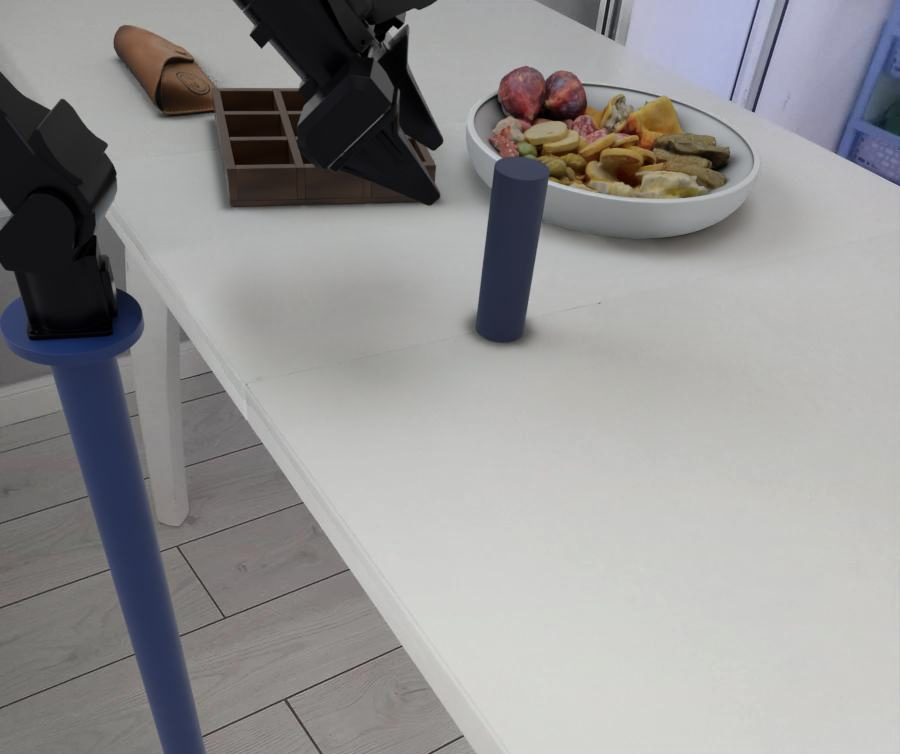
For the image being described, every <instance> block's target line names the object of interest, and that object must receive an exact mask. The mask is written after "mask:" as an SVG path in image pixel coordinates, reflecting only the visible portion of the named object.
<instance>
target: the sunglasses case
mask: <svg viewBox="0 0 900 754" xmlns="http://www.w3.org/2000/svg"><path fill="white" fill-rule="evenodd" d="M112 43H113V49H114V52H115V53H116V55H117V57H118V58H119V60H121V61H122V63H124V65H125V66H126V67H127V68H128V70H129V71H130V73H131V74H132V76H133V77H134V78H135V79H136V81H137V82H138V83H139V85H140V86H141V87H142V89H143V90H144V92H145V93H146V95H147V97H148V99H149V100H150V101H151V102H152V104H153V105H154V106H156V107H157V108H158V109H159V110H160V111H161V113H162V114H164V115H166V116H175V115H176V116H185V115H186V116H187V115H197V114H204V113H208V112H214V107H213V97H212V88H217V86H216V84H215V83H214V82H213V81H212V79H211V78H210V77H209V76H208V75H207V73H205V71H204V70H203V69H202V67H200V66H199V64H198V63H197V62H196V60H195V58H194V56H193V55H192V54H191V53H190V52H189V51H187V49H185V48H184V47H182V46H181V45H179V44H178V45H177V44H176V43H173V42H172V41H169V39H166V38H165V37H162V36H161V35H159V34H157V33H154V31H153V32H152V31H150V30H148V29H145V28H142V27H139V26H136V25H132V24H131V25H130V24H123V25H121V26H119V27H118V29H117V30H116V32H115V33H114V36H113V42H112Z"/></svg>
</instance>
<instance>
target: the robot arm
mask: <svg viewBox="0 0 900 754" xmlns="http://www.w3.org/2000/svg"><path fill="white" fill-rule="evenodd" d="M437 1H438V0H232V2H233V3H234V4H235V6H237V8H239V10H240V11H241V12H242V13H243V14H244V15H245V17H246V18H247V19H248V20H249V21H250V23H252V25H253V28H252V29H251V31H250V33H249V37H250V38H251V39H252V40H253V41H254V42H255V44H256V45H257V46H258V47H259V48H260V49H261V50H262V49H263V48H264V47H265V46H266V45H267V44H268V43H269V44H270V46H272V47H273V49H274V50H275V51H276V52H277V54H279V56H281V58H282V59H283V60H284V61H285V62H286V64H287V65H288V66H289V67H290V68H291V69H292V70H293V71H294V72H295V74H296V75H297V76H298V77H299V78H300V79H301V80H300V83H299V86H298V88H299V89H298V91H299V92H300V93H301V94H302V95H303V96H304V97H305V98H306V100H307V101H308V102H307V103H306V104H305V105H304V107H303V110H302V113H301V116H300V119H299V122H298V125H297V138H298V149H299V150H300V151H301V152H302V153H303V155H304V156H305V157H306V158H307V159H308V160H309V161H310V162H311V163H312V164H313V165H314V166H315V167H316V169H317V170H318V171H319V172H321V171H323V170H325V169H326V168H327V167H328V169H329V170H331V171H332V172H334V173H336V172H338V171H342V172H345V173H347V174H350V175H353V176H356V177H359V178H362V179H364V180H367V181H370V182H373V183H375V184H378V185H380V186H383V187H385V188H388V189H390V190H392V191H395V192H397V193H399V194H402V195H404V196H407V197H409V198H411V199H414V200H416V201H417V202H418V203H420V204H423V205H426V206H427V207H428V206H429V207H430V206H432V205H434V204H435V203H436V202H438V200H439V199H440V198H441V191H440V190H439V188H438V186H437V184H436V182H435V183H434V181H433V179H432V177H431V176H430V174H429V172H428V171H427V169H426V167H425V166H424V164H423V163H422V161H421V159H420V158H419V156H418V155H417V153H416V151H415V150H414V148H413V146H412V145H411V143H410V142H409V140H408V138H407V137H406V135H408V136H409V137H411V138H412V139H414V140H415V141H417V142H419V143H420V144H422V145H424V146H425V147H427V149H428V150H430V151H432V152H436V150H437V149H438V148H440V147H441V146H442V145H443V144H444V137H443V135H442V132H441V131H440V129H439V127H438V125H437V122H436V120H435V118H434V116H433V114H432V112H431V110H430V107H429V106H428V103H427V101H426V99H425V97H424V95H423V93H422V91H421V89H420V87H419V85H418V82H417V81H416V78H415V76H414V73H413V72H412V69H411V68H410V64H409V48H410V47H409V46H410V45H409V44H410V24H409V23H406V24H405V22H406V16H407V12H409V11H411V10H418V11H421V10H423V9H427V8H428V7H429V6H432V5H433V4H435V3H436V2H437ZM393 27H394V28H395V29H396V30H399V31H397V32H396V33H395V35H394V36H393V35H391V33H390V32H389V31H390V30H391V29H392V28H393ZM404 133H405V134H406V135H405V134H404ZM108 147H109V144H108V143H107V142H106V141H104V140H103V139H101V138H100V137H99V136H98V135H96V134H95V133H94V132H92V131H91V130H90V129H89V128H88V127H87V126H86V124H85V123H84V122H83V119H82V118H81V117H80V116H79V114H78V112H77V111H76V109H75V108H74V107H73V105H71V103H69V102H68V101H67V100H66V99H65V98H60V99H59V100H58V102H56V104H55V105H54V106H53V107H52V108H51V109H50V108H49V107H46V106H44V105H42V104H40V103H38V102H37V101H35V100H34V99H31V98H30V97H28V96H26V95H25V94H23V93H22V92H21V91H19V90H18V88H16V87H15V85H13V84H12V82H11V81H10V80H9V79H8V78H7V77H6V76H5V74H3V73H2V71H0V201H1V202H2V204H3V205H4V206H5V208H6V209H7V210H8V212H9V213H10V215H9V216H8V218H7V219H6V221H4V223H3V224H2V226H1V227H0V265H1V266H2V268H3V269H4V270H5V271H8V272H13V274H14V277H15V278H14V279H15V281H16V284H17V288H18V291H19V294H20V297H21V298H22V301H23V305H24V308H25V311H26V315H27V318H28V324H27V336H28V339H29V340H52V339H69V338H87V337H104V336H111V335H112V334H113V333H114V318H116V317H117V316H118V297H117V292H116V288H117V287H116V283H115V279H114V275H113V270H112V265H111V261H110V257H109V256H108V255H107V254H102V253H101V249H100V245H99V239H98V236H97V235H96V234H95V233H96V231H97V229H98V228H99V226H100V225H101V223H102V221H103V220H104V218H105V217H106V215H107V213H108V211H109V210H110V208H111V206H112V204H113V203H114V201H115V199H116V195H117V193H118V178H117V175H118V172H117V170H116V168H115V165H114V163H113V162H112V160H111V158H110V157H109V156H108V155H107V153H106V150H107V148H108Z"/></svg>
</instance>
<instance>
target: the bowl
mask: <svg viewBox="0 0 900 754" xmlns="http://www.w3.org/2000/svg"><path fill="white" fill-rule="evenodd" d="M465 143H466V149H467V153H468V157H469V159H470V162H471V164H472V165H473V168H474V169H475V171H476V173H477V174H478V177H480V178H481V180H482V181H483V182H484V183H485V184H486V185H487V187H488V188H490V190H492V182H493V174H494V166H495V163H496V162H497V161H498V160H499V159H502V158H505V157H513V156H518V157H527V158H531V159H535V160H537V161H540V162H542V163H543V164H545V165H546V166H547V167H548V168H549V171H550V174H549V180H548V186H547V192H546V198H545V204H544V210H543V216H542V221H544V222H547V223H549V224H552V225H555V226H558V227H562V228H565V229H570V230H573V231H577V232H581V233H585V234H586V233H587V234H591V235H597V236H604V237H611V238H620V239H621V238H623V239H661V238H671V237H677V236H682V235H688V234H691V233H695V232H699V231H702V230H704V229H706V228H709V227H711V226H713V225H716V224H719V222H721V221H723V220H725V219H726V218H728V217H729V216H730V215H732V214H733V213H734V212H735V211H736V210H737V209H739V208H740V207H741V205H742V204H743V203H745V201H746V200H747V199H748V197H749V195H750V194H751V192H752V190H753V189H754V187H755V185H756V183H757V180H758V177H759V174H760V171H761V167H762V160H761V155H760V152H759V150H758V148H757V146H756V145H755V143H754V141H752V139H750V137H749V136H748V135H746V133H745V132H743V130H741V129H739V128H738V127H737V126H735V125H734V124H733V123H732V122H730V121H728V120H727V119H726V118H725V119H724V118H723V117H722V116H719V115H717V114H715V112H712V111H710V110H707V109H706V108H704V107H701V106H698V105H696V104H693V103H691V102H688V101H686V100H682V99H680V98H677V97H673V96H671V95H666V94H663V93H659V92H655V91H652V90H646V89H643V88H638V87H632V86H628V85H622V84H615V83H607V82H601V81H600V82H599V81H588V80H587V81H586V80H580V79H579V77H578V75H576V74H575V73H573V72H572V71H568V70H557V71H555V72H553V73H551V74H550V75H549V76H548V77H547V78H546V79H545V76H544V75H543V73H542V72H540V70H538V69H537V68H535V67H532V66H529V65H523V66H520V67H517V68H514V69H513V70H511V71H509V72H508V73H506V74H505V75H504V76H503V77H502V78H501V80H500V82H499V86H498V89H497V90H495V91H493V92H490V93H489V94H487V95H485V96H483V97H481V98H480V99H478V100H477V101H476V102H475V103H474V104H473V106H472V107H471V108H470V109H469V111H468V114H467V117H466V125H465Z"/></svg>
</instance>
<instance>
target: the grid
mask: <svg viewBox="0 0 900 754" xmlns="http://www.w3.org/2000/svg"><path fill="white" fill-rule="evenodd" d="M298 89H299V87H280V88H279V87H216V88H212V97H213V107H214V111H213V115H214V125H215V129H216V134H217V140H218V147H219V151H220V156H221V162H222V168H223V173H224V178H225V185H226V190H227V194H228V200H229V206H230V207H260V206H261V207H263V206H266V207H267V206H299V205H301V206H303V205H334V204H339V205H341V204H373V203H374V204H376V203H377V204H378V203H411V202H413V203H415V202H418V201H416V200H414V199H411V198H409V197H407V196H404V195H402V194H399V193H397V192H395V191H392V190H390V189H388V188H385V187H383V186H380V185H378V184H375V183H373V182H370V181H367V180H364V179H362V178H359V177H356V176H353V175H350V174H347V173H345V172H342V171H338V172H336V173H334V172H332V171H331V170H329V169H328V167H327V168H326V169H325V170H323V171H321V172H319V171H318V170H317V169H316V167H315V166H314V165H313V164H312V163H311V162H310V161H309V160H308V159H307V158H306V157H305V156H304V155H303V153H302V152H301V151H300V150H299V149H298V138H297V125H298V122H299V119H300V116H301V113H302V110H303V107H304V105H305V104H306V103H307V102H308V101H307V100H306V98H305V97H304V96H303V95H302V94H301V93H300V92H299V91H298ZM404 134H405V133H404ZM405 135H406V134H405ZM406 137H407V138H408V140H409V142H410V143H411V145H412V146H413V148H414V150H415V151H416V153H417V155H418V156H419V158H420V159H421V161H422V163H423V164H424V166H425V167H426V169H427V171H428V172H429V174H430V176H431V177H432V179H433V181H434V183H435V184H436V172H437V171H436V170H437V163H435V161H434V159H433V157H432V155H431V153H430V151H429V148H427V147H425V146H424V145H422V144H420V143H419V142H417V141H415V140H414V139H412V138H411V137H409V136H408V135H406Z"/></svg>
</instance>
